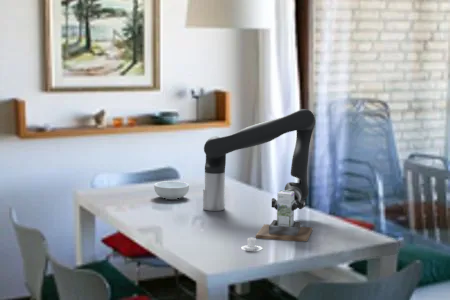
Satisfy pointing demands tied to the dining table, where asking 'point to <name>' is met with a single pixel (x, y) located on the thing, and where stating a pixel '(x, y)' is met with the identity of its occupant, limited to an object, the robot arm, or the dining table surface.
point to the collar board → (284, 232)
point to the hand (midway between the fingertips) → (284, 207)
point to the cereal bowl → (171, 189)
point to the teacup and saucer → (251, 245)
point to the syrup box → (285, 208)
